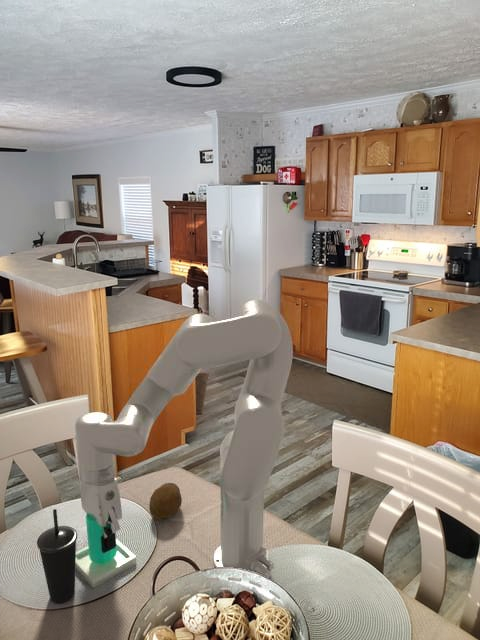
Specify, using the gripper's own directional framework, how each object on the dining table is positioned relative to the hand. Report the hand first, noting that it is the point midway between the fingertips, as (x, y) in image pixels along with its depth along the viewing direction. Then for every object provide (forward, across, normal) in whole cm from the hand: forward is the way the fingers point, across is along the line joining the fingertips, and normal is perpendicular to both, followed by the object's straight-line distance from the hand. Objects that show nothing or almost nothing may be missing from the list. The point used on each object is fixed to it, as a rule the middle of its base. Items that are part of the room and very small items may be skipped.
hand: (102, 542), depth 113 cm
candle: (+3, 0, 0) cm, 3 cm away
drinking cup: (+5, -2, +11) cm, 12 cm away
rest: (+5, 0, 0) cm, 5 cm away
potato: (+6, +5, -21) cm, 22 cm away
